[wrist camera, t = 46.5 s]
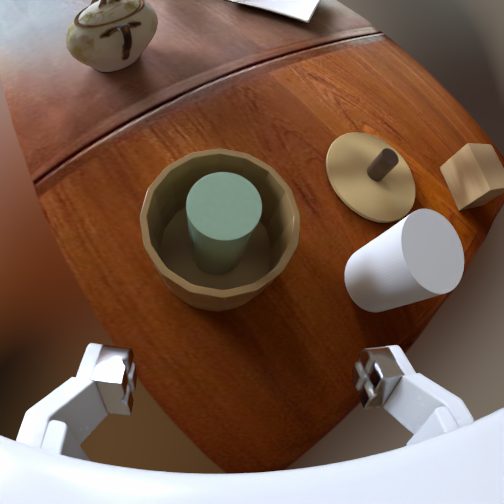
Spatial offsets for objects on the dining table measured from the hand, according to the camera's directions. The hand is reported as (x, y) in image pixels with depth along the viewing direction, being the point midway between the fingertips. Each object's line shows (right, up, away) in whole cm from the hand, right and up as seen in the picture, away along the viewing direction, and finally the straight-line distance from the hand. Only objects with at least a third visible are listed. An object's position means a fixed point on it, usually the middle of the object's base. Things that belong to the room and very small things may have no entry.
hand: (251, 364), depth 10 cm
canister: (-4, +4, +24) cm, 24 cm away
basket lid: (+17, +14, +30) cm, 37 cm away
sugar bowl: (-23, +36, +32) cm, 53 cm away
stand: (+36, +15, +34) cm, 52 cm away
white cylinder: (+15, 0, +26) cm, 30 cm away
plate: (+5, +60, +44) cm, 74 cm away
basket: (-4, +4, +24) cm, 25 cm away
